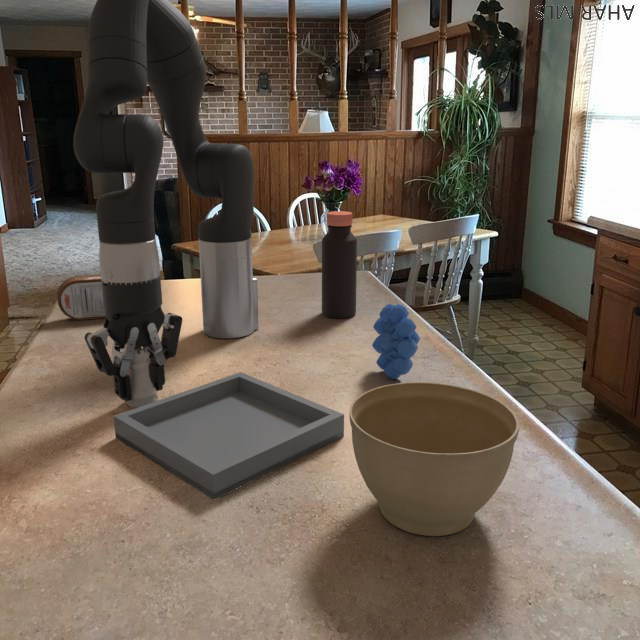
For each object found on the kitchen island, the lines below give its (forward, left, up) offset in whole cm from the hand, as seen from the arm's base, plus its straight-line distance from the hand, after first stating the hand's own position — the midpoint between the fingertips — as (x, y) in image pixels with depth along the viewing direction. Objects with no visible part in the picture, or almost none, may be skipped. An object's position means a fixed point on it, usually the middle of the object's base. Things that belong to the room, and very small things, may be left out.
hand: (141, 393), depth 94 cm
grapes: (-32, +20, -2) cm, 38 cm away
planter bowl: (-6, +44, -2) cm, 44 cm away
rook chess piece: (0, 0, -1) cm, 1 cm away
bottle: (-50, -9, -2) cm, 51 cm away
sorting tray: (-2, +17, -1) cm, 17 cm away
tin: (-16, -41, -2) cm, 44 cm away
